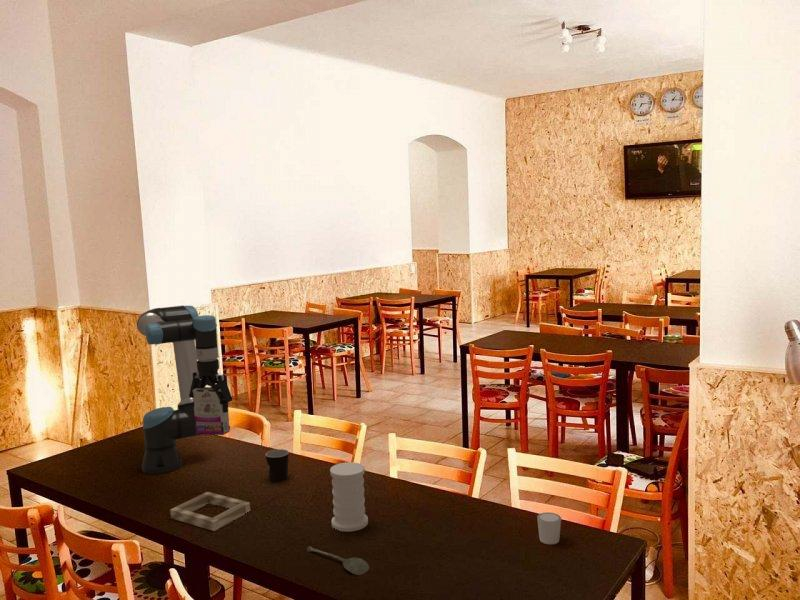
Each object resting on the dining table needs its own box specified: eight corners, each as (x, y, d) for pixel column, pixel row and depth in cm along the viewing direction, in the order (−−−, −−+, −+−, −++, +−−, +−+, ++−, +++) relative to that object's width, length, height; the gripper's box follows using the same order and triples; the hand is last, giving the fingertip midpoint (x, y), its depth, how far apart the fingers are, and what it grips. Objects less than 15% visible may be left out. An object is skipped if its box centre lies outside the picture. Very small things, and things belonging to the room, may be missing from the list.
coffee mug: (287, 483, 243) (286, 457, 242) (264, 483, 243) (263, 457, 242) (293, 471, 254) (292, 446, 253) (271, 471, 255) (269, 446, 253)
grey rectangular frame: (171, 518, 217) (170, 509, 217) (208, 499, 230) (207, 491, 230) (214, 531, 207) (213, 522, 206) (250, 511, 220) (249, 502, 220)
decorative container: (334, 534, 202) (332, 477, 200) (328, 518, 213) (326, 464, 211) (371, 528, 205) (369, 472, 203) (363, 512, 216) (361, 459, 214)
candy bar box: (230, 431, 237) (227, 386, 236) (223, 435, 233) (220, 390, 231) (202, 430, 240) (199, 386, 238) (195, 434, 235) (191, 389, 233)
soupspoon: (358, 582, 177) (374, 572, 182) (358, 570, 176) (374, 560, 182) (301, 555, 190) (317, 547, 195) (301, 544, 190) (317, 536, 195)
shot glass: (556, 547, 189) (556, 524, 188) (534, 542, 193) (533, 519, 192) (564, 537, 195) (564, 514, 194) (542, 532, 198) (542, 510, 198)
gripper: (175, 359, 236) (180, 417, 239) (224, 364, 224) (228, 426, 226) (192, 355, 243) (196, 412, 245) (240, 359, 230) (244, 420, 233)
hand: (211, 419), depth 236 cm, fingers closed on candy bar box, 12 cm apart
